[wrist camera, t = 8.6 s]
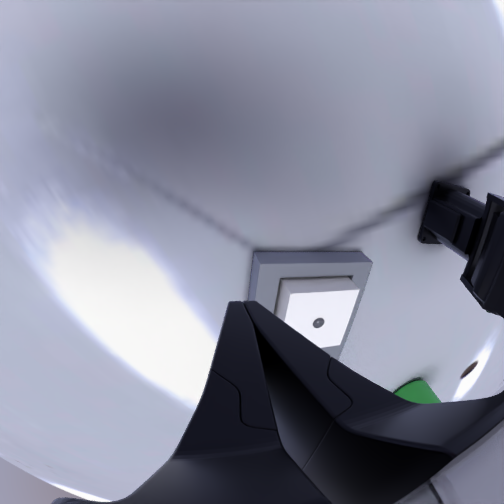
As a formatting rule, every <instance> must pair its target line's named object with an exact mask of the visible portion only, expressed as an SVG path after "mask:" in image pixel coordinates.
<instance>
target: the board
mask: <svg viewBox="0 0 504 504" xmlns="http://www.w3.org/2000/svg"><path fill="white" fill-rule="evenodd" d="M372 264H373V262H372V261H371V260H370V259H369V258H368V257H367V256H366V255H364V254H363V253H362V252H254V255H253V263H252V271H251V279H250V288H249V296H248V301H252V300H255V301H257V302H258V303H260V304H261V305H262V306H264V307H265V308H266V309H268V310H269V311H270V312H272V313H274V308H275V302H276V297H277V292H278V286H279V280H280V278H287V277H319V276H345V275H347V276H348V277H349V278H350V279H351V280H352V282H353V283H354V284H355V285H356V286H357V287H358V288H359V289H360V290H359V293H358V296H357V299H356V302H355V305H354V308H353V311H352V314H351V317H350V319H349V322H348V325H347V328H346V330H345V333H344V336H343V338H342V341H341V344H340V345H337V346H330V347H323V348H321V349H322V350H324V351H325V352H327V353H328V354H329V355H330V356H331V357H334V358H335V359H337V360H338V359H339V357H340V354H341V352H342V350H343V347H344V344H345V342H346V339H347V337H348V334H349V332H350V329H351V326H352V324H353V321H354V318H355V315H356V312H357V310H358V307H359V304H360V301H361V298H362V295H363V292H364V289H365V286H366V283H367V280H368V277H369V274H370V270H371V267H372Z"/></svg>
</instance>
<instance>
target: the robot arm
mask: <svg viewBox="0 0 504 504" xmlns="http://www.w3.org/2000/svg"><path fill="white" fill-rule="evenodd" d="M418 240H419V242H421V243H426V244H444V245H445V246H447V247H448V248H450V249H451V250H453V251H454V252H455V253H457V254H458V255H460V256H461V257H463V258H464V259H465V260H467V261H468V262H467V265H466V267H465V270H464V272H463V274H462V275H461V278H460V280H461V281H462V283H463V284H464V285H465V287H466V288H467V289H468V290H469V292H470V293H471V294H472V295H473V297H474V298H475V299H476V300H477V302H478V303H479V304H480V306H481V307H482V308H483V309H485V310H486V311H487V312H489V313H493V314H495V315H499V316H501V317H503V318H504V197H501V196H498V195H495V194H492V193H489V192H488V194H487V201H486V204H484V203H482V202H480V201H478V200H476V199H474V198H472V197H470V190H469V189H467V188H463V187H460V186H456V185H452V184H448V183H445V182H441V181H434V183H433V185H432V189H431V194H430V198H429V202H428V206H427V209H426V213H425V217H424V220H423V224H422V227H421V231H420V234H419V238H418ZM52 504H504V391H502V392H501V393H499V394H497V395H495V396H492V397H488V398H483V399H476V400H467V401H457V402H444V403H428V404H422V403H415V402H411V401H408V400H406V399H403V398H401V397H399V396H397V395H396V394H394V393H392V392H390V391H388V390H386V389H384V388H383V387H381V386H379V385H377V384H375V383H373V382H372V381H370V380H368V379H366V378H365V377H363V376H361V375H359V374H358V373H356V372H354V371H353V370H351V369H350V368H348V367H347V366H345V365H344V364H342V363H341V362H339V361H338V360H337V359H335V358H334V357H331V356H330V355H329V354H328V353H327V352H325V351H324V350H322V349H321V348H320V347H318V346H317V345H315V344H314V343H313V342H311V341H310V340H308V339H307V338H306V337H304V336H303V335H302V334H300V333H299V332H297V331H296V330H295V329H293V328H292V327H291V326H289V325H288V324H287V323H285V322H284V321H282V320H281V319H280V318H278V317H277V316H276V315H274V314H273V313H272V312H270V311H269V310H268V309H266V308H265V307H264V306H262V305H261V304H260V303H258V302H257V301H255V300H252V301H243V302H241V301H230V302H229V303H228V306H227V310H226V313H225V317H224V320H223V324H222V328H221V331H220V335H219V338H218V342H217V346H216V349H215V353H214V357H213V360H212V364H211V368H210V371H209V374H208V378H207V381H206V385H205V388H204V391H203V394H202V396H201V398H200V401H199V403H198V405H197V408H196V410H195V412H194V414H193V416H192V418H191V420H190V422H189V424H188V426H187V428H186V430H185V432H184V434H183V436H182V438H181V440H180V442H179V444H178V446H177V448H176V449H175V451H174V453H173V454H172V456H171V457H170V458H169V460H168V461H167V462H166V463H165V464H164V465H163V466H162V467H161V468H159V469H158V470H157V471H156V472H155V473H154V474H153V475H152V476H151V477H150V478H149V479H148V480H147V481H145V482H144V483H143V484H142V485H141V486H140V487H139V488H138V489H137V490H135V491H134V492H133V493H132V494H131V495H129V496H128V497H126V498H124V499H121V500H118V501H112V502H96V501H90V500H83V499H76V498H66V497H65V498H57V499H55V500H54V501H53V502H52Z"/></svg>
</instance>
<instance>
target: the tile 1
mask: <svg viewBox="0 0 504 504" xmlns="http://www.w3.org/2000/svg"><path fill="white" fill-rule="evenodd" d="M359 290H360V289H359V288H358V287H357V286H356V285H355V284H354V283H353V282H352V280H351V279H350V278H349V277H348V276H347V275H345V276H319V277H287V278H280V280H279V286H278V292H277V297H276V302H275V308H274V313H273V314H274V315H276V316H277V317H278V318H280V319H281V320H282V321H284V322H285V323H287V324H288V325H289V326H291V327H292V328H293V329H295V330H296V331H297V332H299V333H300V334H302V335H303V336H304V337H306V338H307V339H308V340H310V341H311V342H313V343H314V344H315V345H317V346H318V347H320V348H323V347H330V346H337V345H340V344H341V341H342V338H343V336H344V333H345V330H346V328H347V325H348V322H349V319H350V317H351V314H352V311H353V308H354V305H355V302H356V299H357V296H358V293H359Z"/></svg>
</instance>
